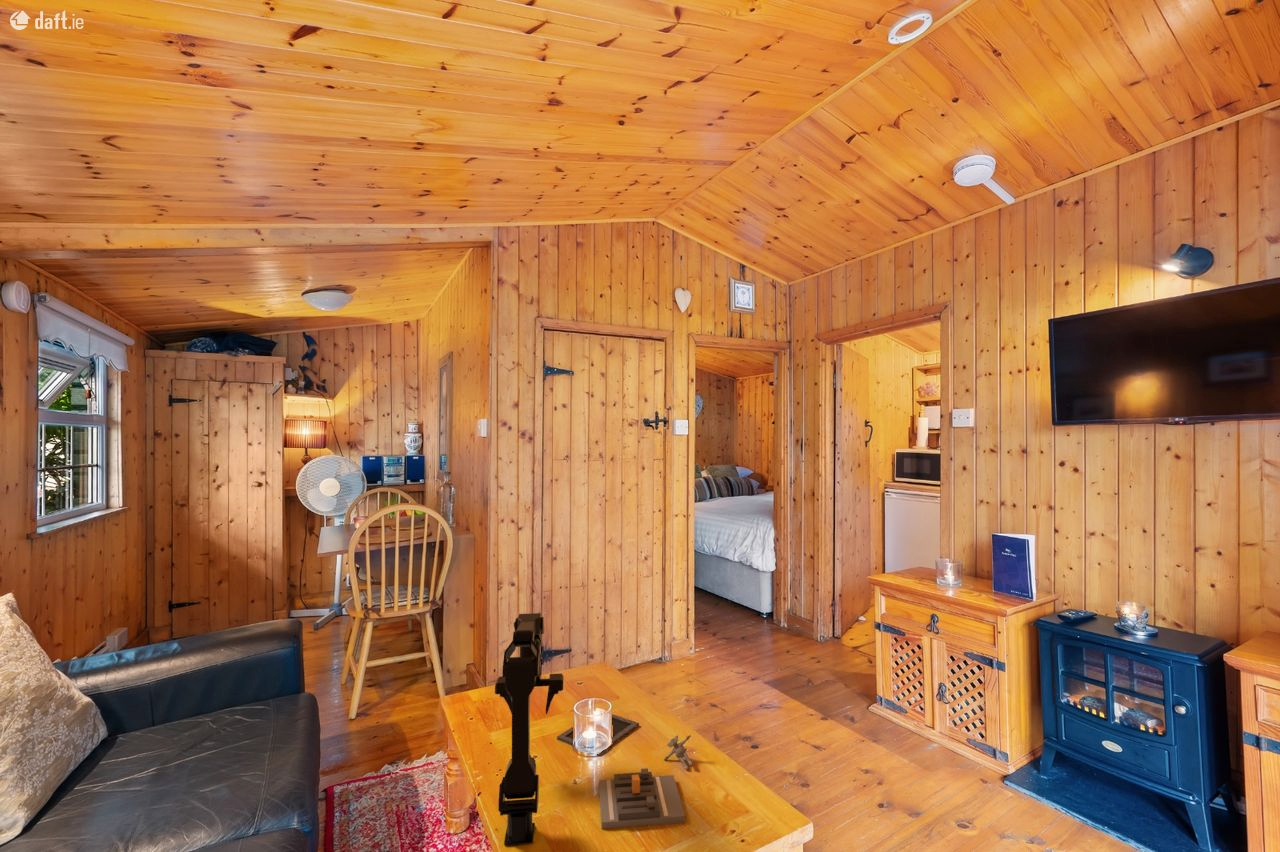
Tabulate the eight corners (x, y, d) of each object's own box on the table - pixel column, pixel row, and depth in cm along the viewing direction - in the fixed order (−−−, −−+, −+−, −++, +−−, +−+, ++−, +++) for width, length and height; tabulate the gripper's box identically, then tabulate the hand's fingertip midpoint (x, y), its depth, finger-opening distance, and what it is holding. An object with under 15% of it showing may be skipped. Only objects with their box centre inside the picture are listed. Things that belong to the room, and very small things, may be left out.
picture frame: (597, 757, 168) (639, 728, 185) (597, 750, 168) (639, 721, 185) (557, 741, 177) (600, 714, 194) (557, 735, 177) (600, 708, 194)
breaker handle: (639, 792, 144) (639, 779, 145) (632, 793, 144) (632, 780, 144) (638, 787, 147) (638, 774, 147) (631, 787, 147) (631, 774, 147)
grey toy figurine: (670, 775, 158) (655, 749, 166) (680, 783, 161) (665, 757, 169) (698, 749, 159) (681, 724, 167) (707, 758, 163) (690, 733, 170)
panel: (685, 822, 138) (684, 803, 138) (601, 828, 136) (601, 809, 136) (673, 780, 155) (673, 763, 155) (599, 786, 153) (598, 768, 153)
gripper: (563, 646, 172) (564, 699, 172) (500, 649, 170) (500, 703, 170) (562, 660, 161) (563, 717, 160) (494, 664, 159) (494, 721, 158)
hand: (530, 714), depth 163 cm, fingers open, 9 cm apart
